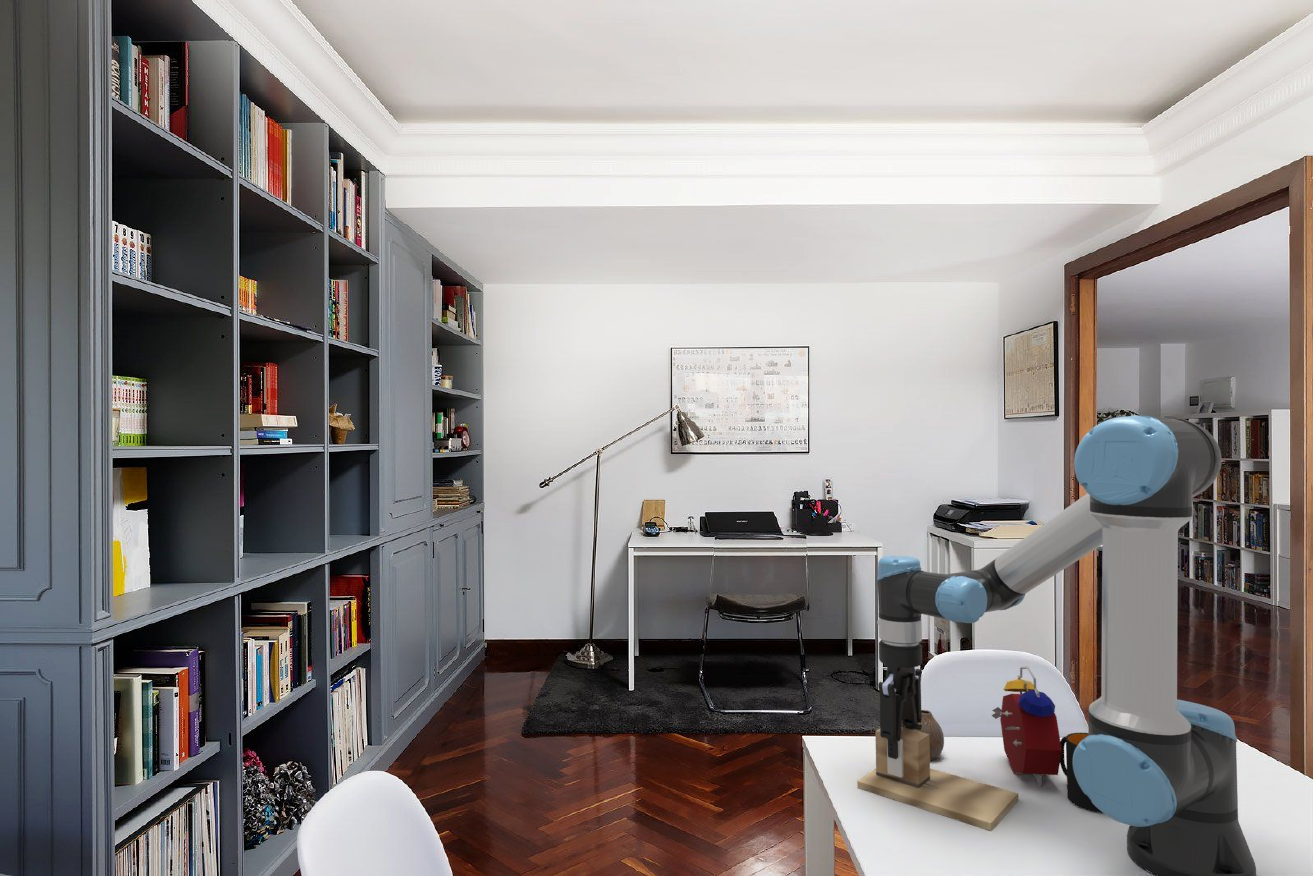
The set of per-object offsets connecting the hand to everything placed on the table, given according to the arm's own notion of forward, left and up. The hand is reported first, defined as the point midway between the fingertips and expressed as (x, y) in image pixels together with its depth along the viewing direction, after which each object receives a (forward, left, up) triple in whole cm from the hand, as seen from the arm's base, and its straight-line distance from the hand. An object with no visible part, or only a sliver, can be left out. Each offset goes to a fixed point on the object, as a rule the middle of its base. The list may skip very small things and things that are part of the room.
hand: (902, 769), depth 132 cm
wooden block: (0, 0, -1) cm, 1 cm away
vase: (+2, -15, -3) cm, 15 cm away
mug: (-26, -16, -3) cm, 31 cm away
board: (-6, 0, -3) cm, 7 cm away
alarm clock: (-15, -19, -3) cm, 24 cm away
